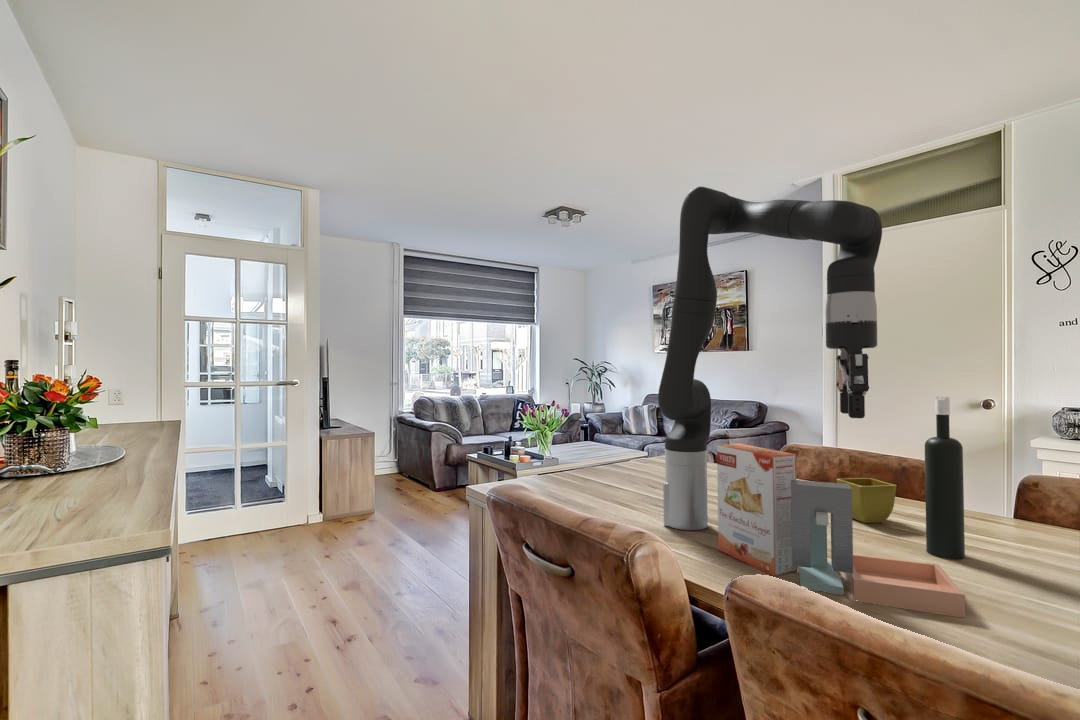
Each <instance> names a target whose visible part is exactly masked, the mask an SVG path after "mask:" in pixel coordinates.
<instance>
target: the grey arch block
mask: <svg viewBox="0 0 1080 720" xmlns="http://www.w3.org/2000/svg"><path fill="white" fill-rule="evenodd" d="M810 511H816V512H827V513H830V544H831V545H830V554H831V555H830V559H831V562H830V563H832V567H833V570H834V571H837V572H839V573H844V572H845V573H852V574H853V554H854V547H853V545H854V543H853V542H854V541H853V540H854V539H853V537H854V535H853V532H854V531H853V530H854V529H853V528H854V527H853V518H852V488H851V487H850V485H849V484H841V483H837V482H824V481H814V480H813V481H811V480H797V479H796V480H791V541H792V565H793V566H800V567H807V568H811V546H810Z"/></svg>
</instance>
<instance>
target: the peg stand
mask: <svg viewBox="0 0 1080 720" xmlns="http://www.w3.org/2000/svg"><path fill="white" fill-rule="evenodd" d="M828 527H829V514H828V513H827V512H816V511H810V546H811V568H807V567H800V566H798V571H797V572H798V577H799V585H801V586H804V587H806V588H808V589H811V590H810V591H812V590H813V591H814V592H819V591H823V592H822V593H826V592H828V594H832V595H833V594H834V595H839V594H840V596H845V595H844V593H845V591H844V584H843V582H842V579H841V575H840V572H837V571H834V570H833V567H832V563H831V562H829V561H828ZM801 586H800V587H801ZM824 591H826V592H824Z"/></svg>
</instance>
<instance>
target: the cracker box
mask: <svg viewBox="0 0 1080 720" xmlns="http://www.w3.org/2000/svg"><path fill="white" fill-rule="evenodd" d="M716 451H717V452H716V454H717V455H716V456H717V457H716V459H717V461H716V462H717V463H716V464H717V465H716V466H717V468H716V469H717V519H718V521H717V523H718V524H717V529H718V530H717V532H718V533H717V534H718V551H720V552H722V553H724V554H726V555H729V556H730V557H732V558H734V559H737V560H739V561H741V562H743V563H745V564H747V565H750V566H752V567H754V568H755V569H758V570H760V571H762V572H763V573H766V574H768V575H770V576H772V575H773V576H772V577H777V576H783V575H788V574H791V573H796V572H798V566H793V565H792V541H791V480H797V454H796V453H790V452H788V451H787V452H785V451H782V450H775V449H771V448H764V447H761V446H760V447H759V446H756V445H749V444H744V443H737V442H736V443H723V444H719V445H717V446H716Z"/></svg>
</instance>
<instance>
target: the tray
mask: <svg viewBox="0 0 1080 720" xmlns="http://www.w3.org/2000/svg"><path fill="white" fill-rule="evenodd" d="M843 574H844V576H845V579H847V580H846V583H847V582H848V583H847V585H848V587H849V588H848V589H849V591H850V590H851V591H850V593H852V594H851V596H853V597H852V599H853V601H854V600H855V601H854V602H856V600H858V601H862V602H861V603H863V602H866V603H865V604H869V603H874V604H873V605H876V604H880V605H879V606H883V605H885V606H884V607H889V606H892V607H891V608H895V609H896V608H897V609H902V608H903V609H905V610H910V611H916V612H923V613H930V614H937V615H943V616H949V617H956V618H962V619H966V604H965V603H966V600H965V594H964V592H963V591H962V590H961V589H960V587H959V586H958V585H957V584H956V583H955V582H954V580H953V579H952V578H951V577H950V576H949V575H948V573H947V572H946V571H945V570H944V569H943V567H942V566H941V565H940V564H939V563H933V562H924V561H916V560H910V559H909V560H908V559H907V560H906V559H900V558H898V559H897V558H891V557H883V556H875V555H868V554H867V555H866V554H859V553H858V554H857V553H853V574H852V573H845V572H843Z"/></svg>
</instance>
